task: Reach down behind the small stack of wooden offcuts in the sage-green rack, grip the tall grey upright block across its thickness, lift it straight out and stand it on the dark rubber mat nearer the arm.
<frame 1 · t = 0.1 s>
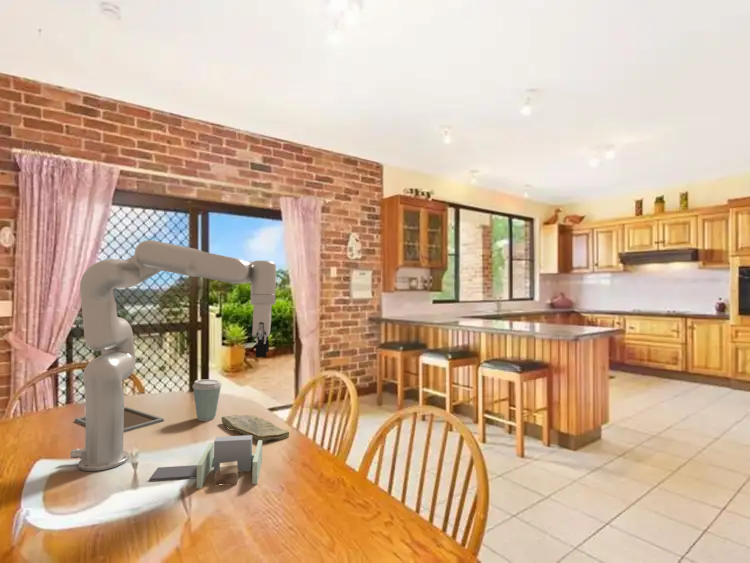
hand: (262, 354, 133), 31 cm above the table, fingers open, 9 cm apart
tall grey upright block: (233, 469, 121), resting in rack
mat: (178, 473, 118), on the table
rack: (231, 473, 119), on the table
offcut b: (228, 471, 114), point 3 cm above the table
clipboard: (117, 422, 162), on the table
offcut a: (226, 482, 114), on the table
stone slab: (252, 431, 154), on the table
disposable coffee cup: (206, 419, 166), on the table
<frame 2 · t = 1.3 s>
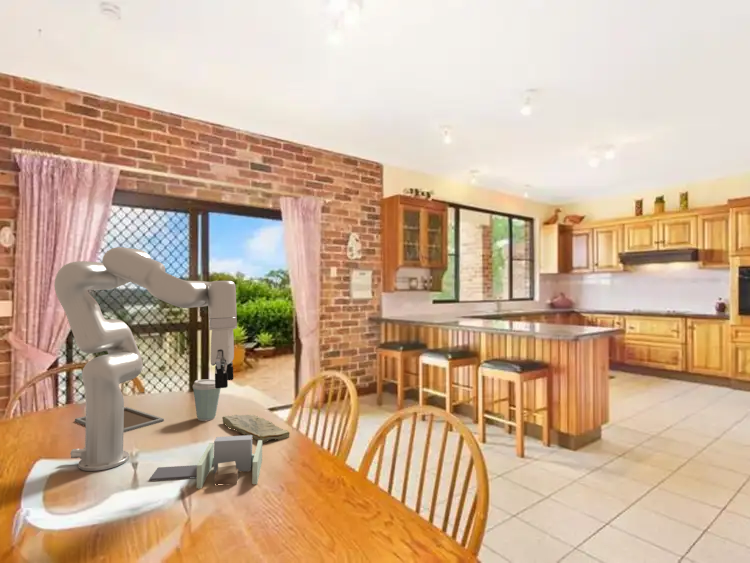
hand: (224, 383, 121), 25 cm above the table, fingers open, 9 cm apart
nothing on the table moved.
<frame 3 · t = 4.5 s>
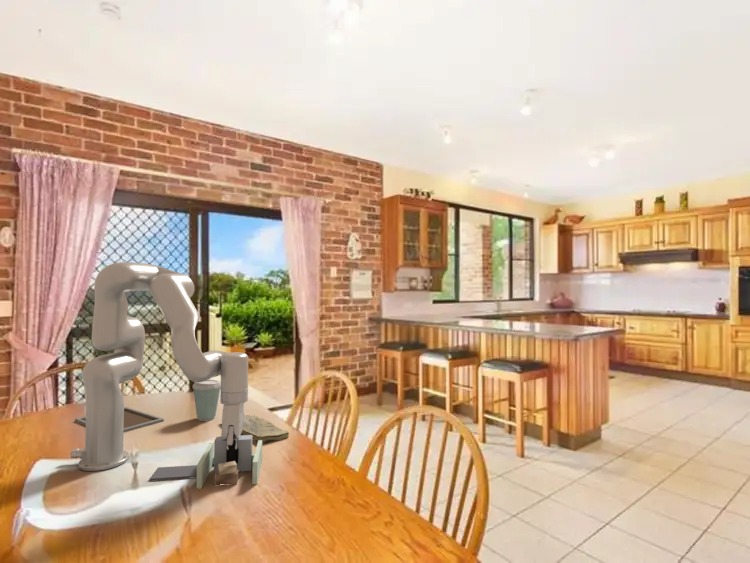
hand: (233, 459, 121), 3 cm above the table, fingers closed on tall grey upright block, 3 cm apart
tall grey upright block: (233, 469, 121), resting in rack, touching gripper
offcut b: (227, 471, 114), point 3 cm above the table, touching offcut a
offcut a: (226, 483, 113), on the table, touching offcut b
everything else where it was.
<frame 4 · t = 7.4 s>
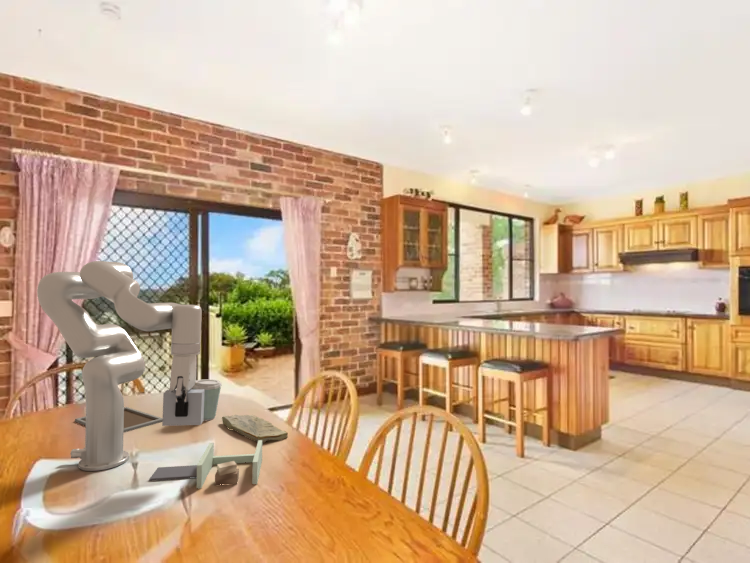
hand: (183, 413, 119), 17 cm above the table, fingers closed on tall grey upright block, 3 cm apart
tall grey upright block: (183, 423, 119), point 14 cm above the table, touching gripper
everything else where it was.
when the fingers open (4 cm above the table, at t = 10.8 s): tall grey upright block stays where it is, resting on mat.
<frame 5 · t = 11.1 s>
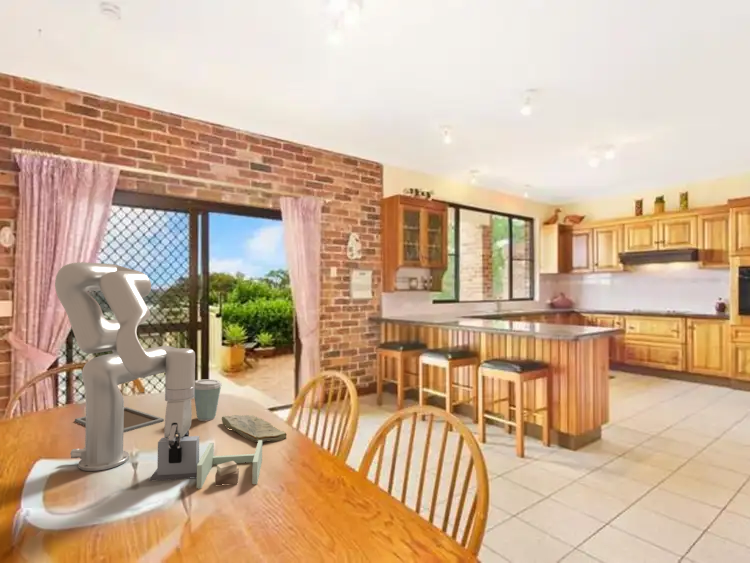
hand: (179, 456, 118), 5 cm above the table, fingers open, 7 cm apart
tall grey upright block: (178, 471, 118), point 1 cm above the table, touching mat
everything else where it was.
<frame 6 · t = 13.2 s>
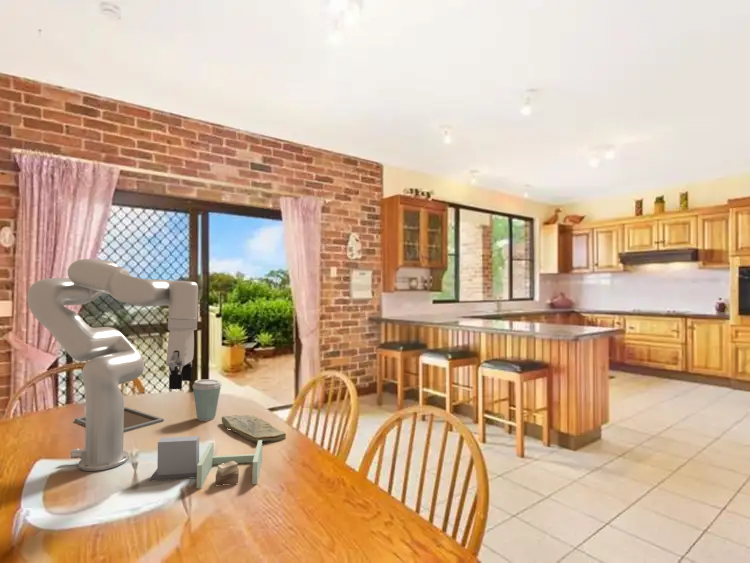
hand: (180, 384, 120), 24 cm above the table, fingers open, 9 cm apart
offcut b: (227, 472, 113), point 3 cm above the table
offcut a: (227, 483, 113), on the table
everything else where it was.
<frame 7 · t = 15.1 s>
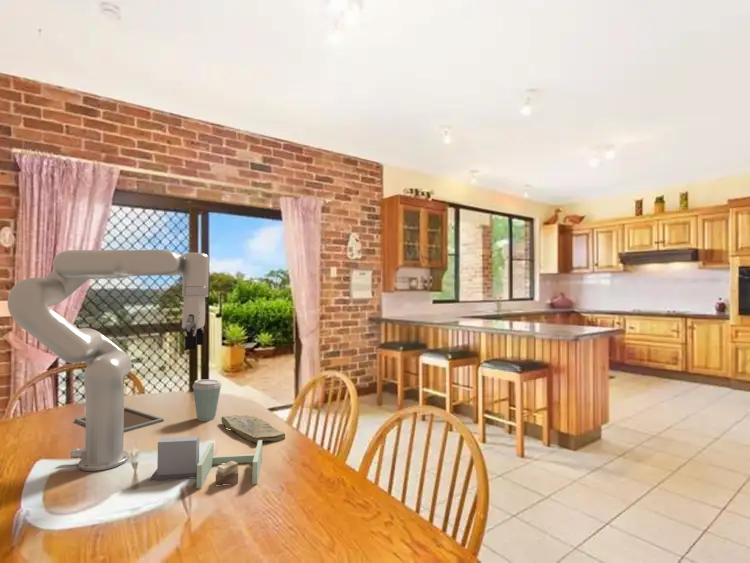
hand: (194, 346, 132), 33 cm above the table, fingers open, 9 cm apart
offcut b: (227, 472, 113), point 3 cm above the table, touching offcut a
offcut a: (227, 482, 114), on the table, touching offcut b
everything else where it was.
at the end: tall grey upright block inside the target area on the mat (0.1 cm from its centre), point 0.6 cm above the mat's base; tall grey upright block tilted 0°; the gripper is holding nothing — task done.
